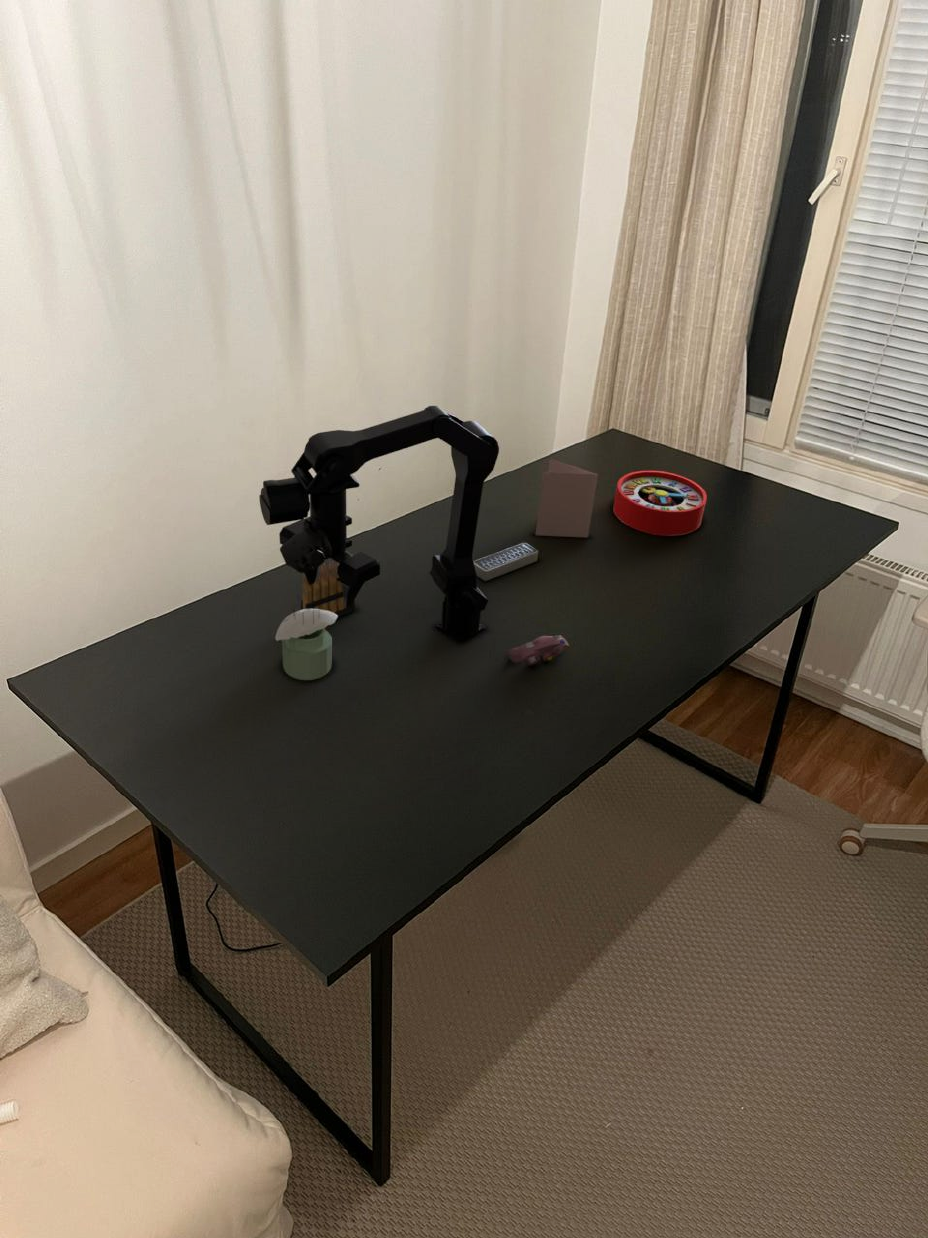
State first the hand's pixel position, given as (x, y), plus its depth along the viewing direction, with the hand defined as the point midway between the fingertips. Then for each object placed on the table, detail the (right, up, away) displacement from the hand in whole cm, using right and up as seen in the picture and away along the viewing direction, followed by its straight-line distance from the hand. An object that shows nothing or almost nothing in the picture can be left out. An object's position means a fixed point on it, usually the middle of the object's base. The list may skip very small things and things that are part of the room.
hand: (329, 595), depth 167 cm
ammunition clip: (-3, -4, +17) cm, 18 cm away
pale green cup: (-4, -12, +4) cm, 14 cm away
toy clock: (+66, +20, +60) cm, 92 cm away
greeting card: (+43, +14, +49) cm, 67 cm away
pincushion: (-4, -6, 0) cm, 7 cm away
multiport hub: (+31, +7, +36) cm, 48 cm away
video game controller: (+36, -12, +11) cm, 39 cm away
